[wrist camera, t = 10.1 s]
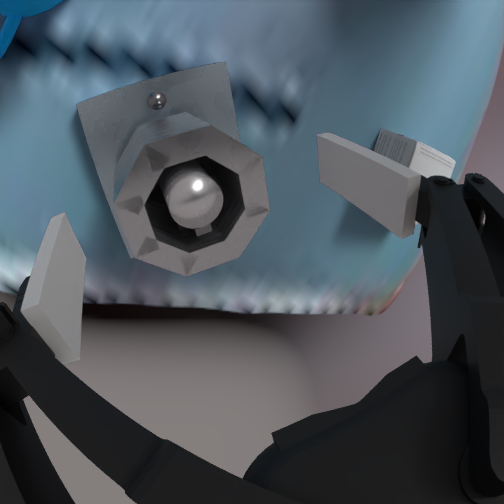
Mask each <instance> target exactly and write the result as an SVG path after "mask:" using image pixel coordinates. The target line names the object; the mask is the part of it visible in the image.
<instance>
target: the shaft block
mask: <svg viewBox="0 0 504 504" xmlns="http://www.w3.org/2000/svg"><path fill="white" fill-rule="evenodd" d="M76 106H77V109H78V113H79V116H80V120H81V123H82V127H83V130H84V133H85V137H86V140H87V143H88V146H89V149H90V152H91V155H92V158H93V161H94V164H95V167H96V170H97V173H98V176H99V179H100V182H101V185H102V187H103V190H104V193H105V196H106V198H107V201H108V204H109V206H110V209H111V212H112V214H113V217H114V219H115V222H116V224H117V227H118V229H119V232H120V234H121V237H122V239H123V241H124V244H125V246H126V249H127V251H128V253H129V256H130V258H131V259H132V258H135V257H134V255H133V252H132V250H131V247H130V245H129V243H128V240H127V238H126V235H125V233H124V230H123V228H122V225H121V223H120V220H119V218H118V215H117V212H116V210H115V207H114V175H115V167H116V166H117V164H118V162H119V160H120V158H121V156H122V154H123V152H124V150H125V148H126V147H127V145H128V143H129V141H130V139H131V137H132V136H133V134H134V132H135V130H136V129H137V127H138V126H139V125H142V124H145V123H148V122H152V121H155V120H158V119H161V118H165V117H168V116H172V115H175V114H179V113H182V112H187V113H189V114H191V115H193V116H195V117H197V118H199V119H201V120H203V121H205V122H207V123H208V124H210V125H212V126H214V127H215V128H217V129H219V130H220V131H222V132H224V133H225V134H227V135H229V136H230V137H232V138H234V139H235V140H237V141H238V142H240V138H239V132H238V126H237V121H236V115H235V109H234V104H233V98H232V93H231V87H230V81H229V76H228V70H227V65H226V62H219V63H214V64H209V65H204V66H199V67H195V68H190V69H186V70H182V71H178V72H173V73H170V74H166V75H162V76H158V77H155V78H151V79H147V80H144V81H141V82H137V83H134V84H131V85H128V86H125V87H121V88H118V89H115V90H112V91H110V92H107V93H104V94H101V95H98V96H96V97H93V98H90V99H88V100H85V101H82V102H80V103H78V104H76ZM211 176H212V170H211V165H210V161H209V157H207V156H202V157H198V158H195V159H192V160H189V161H185V162H182V163H179V164H176V165H173V166H170V167H167V168H164V170H163V171H162V173H161V175H160V177H159V178H158V180H157V182H156V184H155V186H154V187H153V189H152V191H151V193H150V195H149V197H148V198H150V199H152V200H154V201H157V202H159V203H161V204H163V205H165V206H168V208H169V211H170V213H171V216H172V217H173V219H174V220H175V221H176V222H177V223H178V224H179V225H181V226H183V227H186V228H193V230H194V231H195V233H196V235H197V236H200V235H202V234H205V233H208V232H211V231H212V228H211V224H210V223H211V222H212V221H213V220H215V218H216V217H217V216H218V215H219V213H220V211H221V209H222V205H223V194H222V191H221V189H220V187H219V186H218V185H217V184H216V183H215V181H214V180H213V179H212V178H211Z"/></svg>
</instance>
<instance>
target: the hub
mask: <svg viewBox="0 0 504 504" xmlns="http://www.w3.org/2000/svg"><path fill="white" fill-rule="evenodd" d="M202 156H207V157H209V161H210V165H211V170H212V176H211V178H212V179H213V180H214V181H215V183H216V184H217V185H218V186H219V187H220V189H221V191H222V194H223V205H222V209H221V211H220V213H219V215H218V216H217V217H216V218H215V220H213V221H212V222H211V223H210V224H211V228H212V231H211V232H208V233H205V234H202V235H200V236H197V235H196V233H195V231H194V230H193V228H186V227H183V226H181V225H179V224H178V223H177V222H176V221H175V220H174V219H173V217H172V216H171V213H170V211H169V208H168V206H165V205H163V204H161V203H159V202H157V201H154V200H152V199H150V198H148V197H149V195H150V193H151V191H152V189H153V187H154V186H155V184H156V182H157V180H158V178H159V177H160V175H161V173H162V171H163V170H164V168H167V167H170V166H173V165H176V164H179V163H182V162H185V161H189V160H192V159H195V158H198V157H202ZM114 207H115V210H116V212H117V215H118V218H119V220H120V223H121V225H122V228H123V230H124V233H125V235H126V238H127V240H128V243H129V245H130V247H131V250H132V252H133V255H134V257H135V258H136V259H139V260H141V261H144V262H147V263H150V264H152V265H155V266H158V267H161V268H163V269H166V270H169V271H172V272H175V273H178V274H180V275H183V276H186V277H187V276H190V275H192V274H195V273H198V272H201V271H203V270H206V269H209V268H212V267H214V266H217V265H220V264H223V263H225V262H228V261H231V260H233V259H236V258H239V257H240V256H241V254H242V253H243V251H244V249H245V248H246V246H247V245H248V243H249V242H250V240H251V239H252V237H253V236H254V234H255V233H256V231H257V230H258V228H259V227H260V225H261V224H262V222H263V221H264V219H265V218H266V216H267V215H268V213H269V212H270V206H269V199H268V192H267V185H266V178H265V172H264V165H263V158H262V156H261V155H259V154H257V153H256V152H254V151H253V150H251V149H250V148H248V147H246V146H245V145H243V144H242V143H240V142H238V141H237V140H235V139H234V138H232V137H230V136H229V135H227V134H225V133H224V132H222V131H220V130H219V129H217V128H215V127H214V126H212V125H210V124H208V123H207V122H205V121H203V120H201V119H199V118H197V117H195V116H193V115H191V114H189V113H187V112H182V113H179V114H175V115H172V116H168V117H165V118H161V119H158V120H155V121H152V122H148V123H145V124H142V125H139V126H138V127H137V129H136V130H135V132H134V134H133V136H132V137H131V139H130V141H129V143H128V145H127V147H126V148H125V150H124V152H123V154H122V156H121V158H120V160H119V162H118V164H117V166H116V167H115V175H114Z"/></svg>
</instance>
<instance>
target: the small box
mask: <svg viewBox="0 0 504 504" xmlns="http://www.w3.org/2000/svg"><path fill="white" fill-rule="evenodd" d="M374 152H376V153H378V154H380V155H382V156H385V157H387V158H389V159H391V160H393V161H395V162H397V163H399V164H401V165H403V166H405V167H407V168H409V169H411V170H413V171H415V172H417V173H419V174H421V175H423V176H425V177H426V178H429V177H430V176H434V175H440V176H445V177H447V178H450V177H451V174H452V171H453V169H454V166H455V163H456V162H455V161H454V160H453V159H452V158H450V157H448V156H447V155H445V154H443V153H441V152H439V151H438V150H436V149H434V148H432V147H430V146H428V145H426V144H424V143H422V142H419V141H417V140H414V139H411V138H408V137H405V136H403V135H400V134H397V133H394V132H391V131H388V130H385V129H382V128H381V129H380V132H379V136H378V139H377V142H376V145H375V148H374ZM415 224H419V225H421V224H420V223H418V222H417V221H415Z"/></svg>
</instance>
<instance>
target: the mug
mask: <svg viewBox="0 0 504 504" xmlns="http://www.w3.org/2000/svg"><path fill="white" fill-rule="evenodd" d="M61 1H63V0H0V15H3V16H6V20H5V23H4V25H3V27H2V29H1V31H0V58H1V57H2V56H3V55H4V53H5V52H6V50H7V48H8V46H9V45H10V43H11V41H12V39H13V37H14V35H15V32H16V30H17V28H18V26H19V24H20V21H21V18H23V17H29V16H35V15H37V14H39V13H41V12H44V11H46V10H49V9H51V8H53V7H54V6H55V5H57V4H58V3H60V2H61Z"/></svg>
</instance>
